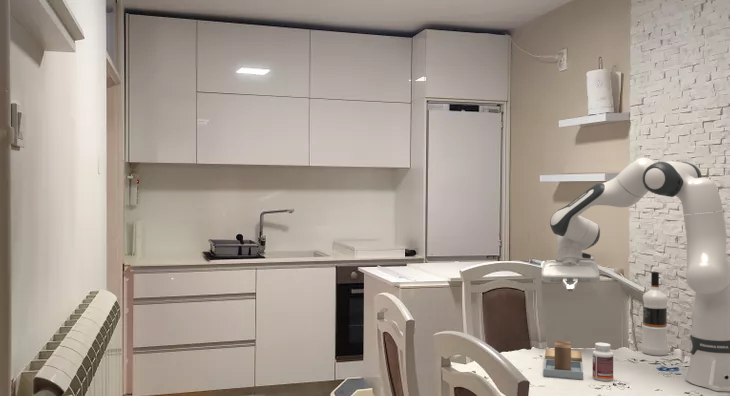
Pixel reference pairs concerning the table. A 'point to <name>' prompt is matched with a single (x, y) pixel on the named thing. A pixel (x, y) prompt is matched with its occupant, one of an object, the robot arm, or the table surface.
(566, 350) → the walnut block
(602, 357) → the pill bottle
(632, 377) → the table surface
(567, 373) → the tray
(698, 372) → the robot arm
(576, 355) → the oak board
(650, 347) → the vodka
